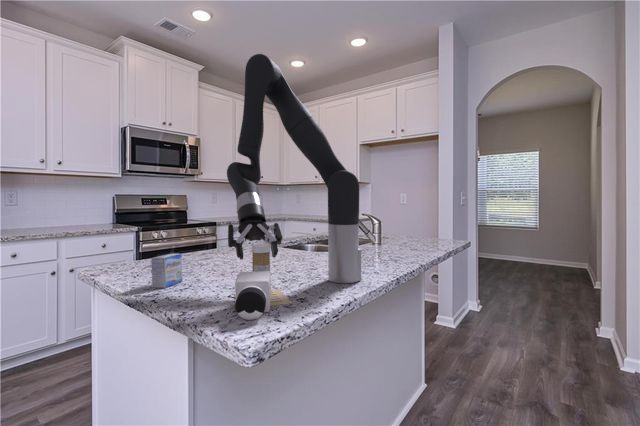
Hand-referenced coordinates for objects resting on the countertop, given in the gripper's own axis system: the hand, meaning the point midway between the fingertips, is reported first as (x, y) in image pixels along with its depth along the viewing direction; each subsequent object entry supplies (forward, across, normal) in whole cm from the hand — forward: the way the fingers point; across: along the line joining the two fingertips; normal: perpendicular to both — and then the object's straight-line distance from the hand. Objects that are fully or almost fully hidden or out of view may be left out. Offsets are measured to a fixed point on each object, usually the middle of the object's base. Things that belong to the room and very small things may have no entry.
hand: (258, 256), depth 85 cm
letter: (+10, 0, +4) cm, 11 cm away
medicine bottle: (+9, -2, -1) cm, 9 cm away
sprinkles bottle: (+10, 0, +4) cm, 11 cm away
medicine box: (-7, -23, +22) cm, 32 cm away
